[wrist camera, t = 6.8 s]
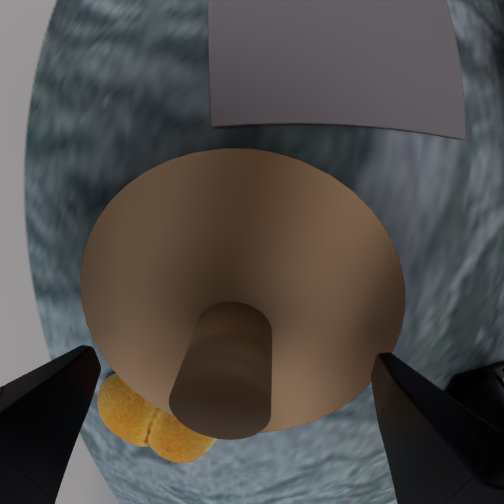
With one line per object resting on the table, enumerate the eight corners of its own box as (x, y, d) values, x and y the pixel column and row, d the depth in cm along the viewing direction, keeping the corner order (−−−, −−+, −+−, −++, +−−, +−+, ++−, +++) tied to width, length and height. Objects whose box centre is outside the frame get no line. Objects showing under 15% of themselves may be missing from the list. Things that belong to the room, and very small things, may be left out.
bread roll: (111, 345, 17) (84, 384, 14) (235, 396, 18) (229, 444, 14) (103, 408, 20) (85, 441, 16) (201, 447, 21) (193, 485, 17)
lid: (410, 151, 8) (498, 165, 4) (365, 411, 12) (383, 484, 8) (69, 169, 9) (-21, 193, 5) (133, 405, 13) (104, 470, 9)
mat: (424, -44, 7) (429, -50, 6) (457, 139, 11) (465, 139, 11) (211, -65, 8) (209, -72, 7) (214, 127, 12) (211, 126, 11)
